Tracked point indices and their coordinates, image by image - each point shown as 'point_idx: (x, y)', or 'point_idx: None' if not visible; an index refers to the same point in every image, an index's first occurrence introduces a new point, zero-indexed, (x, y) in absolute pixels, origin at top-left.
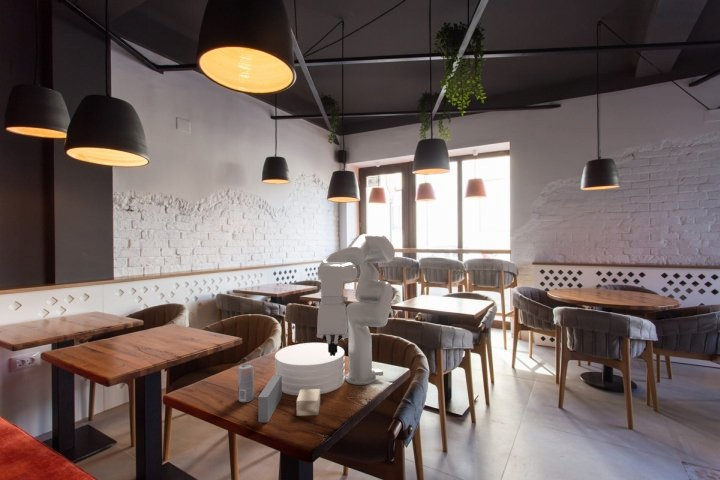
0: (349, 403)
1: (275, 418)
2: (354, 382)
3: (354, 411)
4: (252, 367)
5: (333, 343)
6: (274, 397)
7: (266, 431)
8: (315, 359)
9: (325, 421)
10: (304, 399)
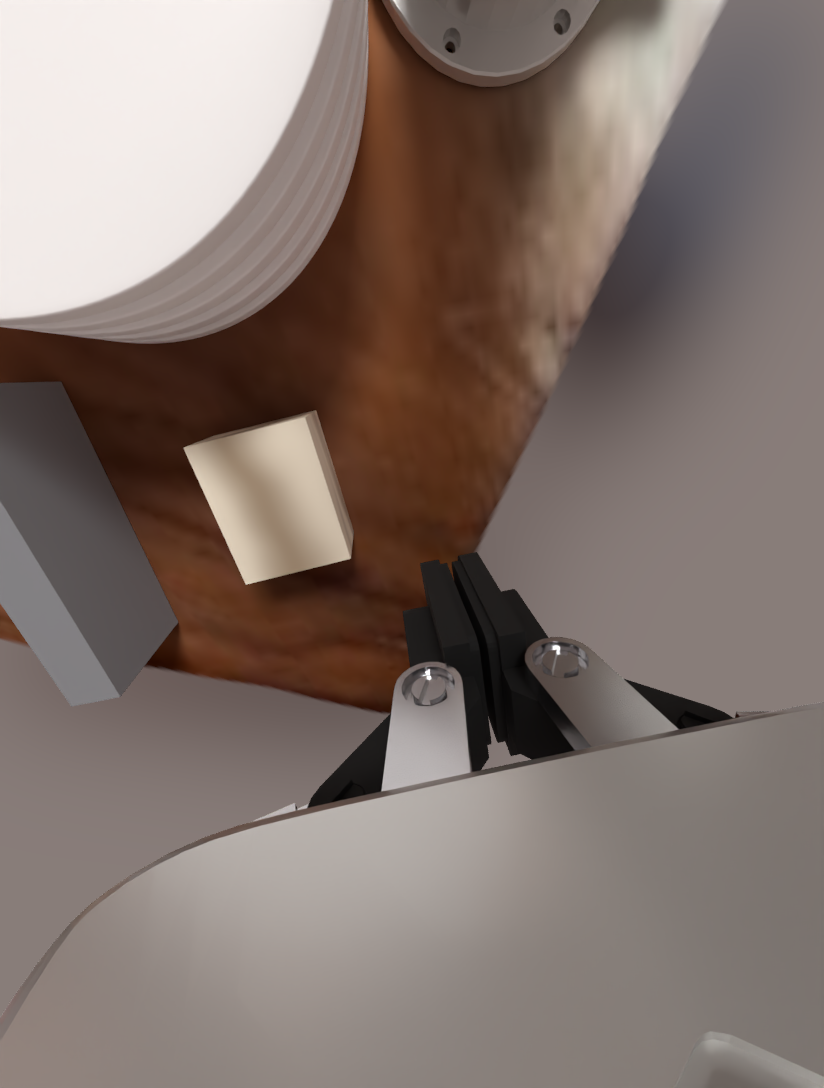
0: (470, 396)
1: (188, 591)
2: (464, 73)
3: (504, 472)
4: None
5: (510, 729)
6: (95, 553)
7: (215, 669)
8: (55, 62)
9: (401, 571)
10: (277, 562)
